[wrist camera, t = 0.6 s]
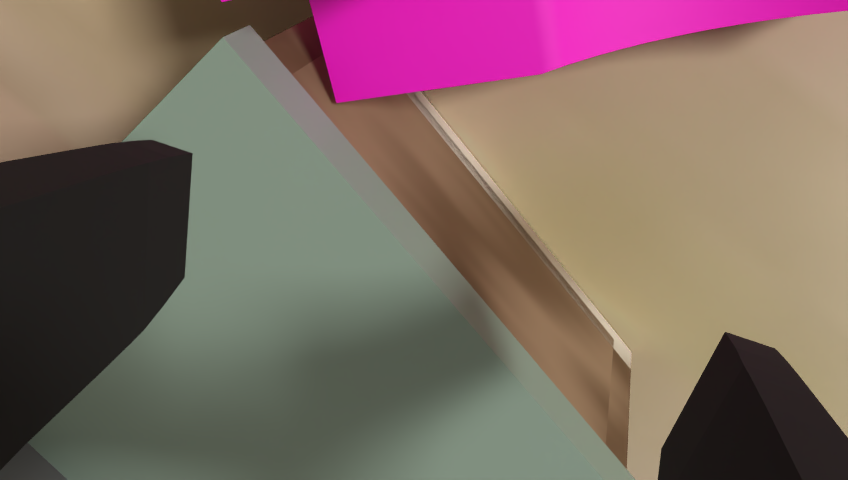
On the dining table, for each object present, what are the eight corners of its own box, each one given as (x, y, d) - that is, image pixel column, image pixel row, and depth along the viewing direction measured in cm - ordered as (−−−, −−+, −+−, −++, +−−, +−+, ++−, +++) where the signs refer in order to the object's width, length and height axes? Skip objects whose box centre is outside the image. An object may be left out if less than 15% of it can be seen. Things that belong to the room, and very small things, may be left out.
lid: (645, 491, 16) (644, 633, 13) (219, 649, 24) (158, 762, 21) (249, 24, 14) (140, 74, 11) (-88, 368, 21) (-205, 452, 18)
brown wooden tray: (631, 351, 21) (625, 484, 16) (285, 518, 28) (218, 640, 24) (346, -2, 18) (252, 47, 14) (48, 282, 25) (-74, 371, 21)
